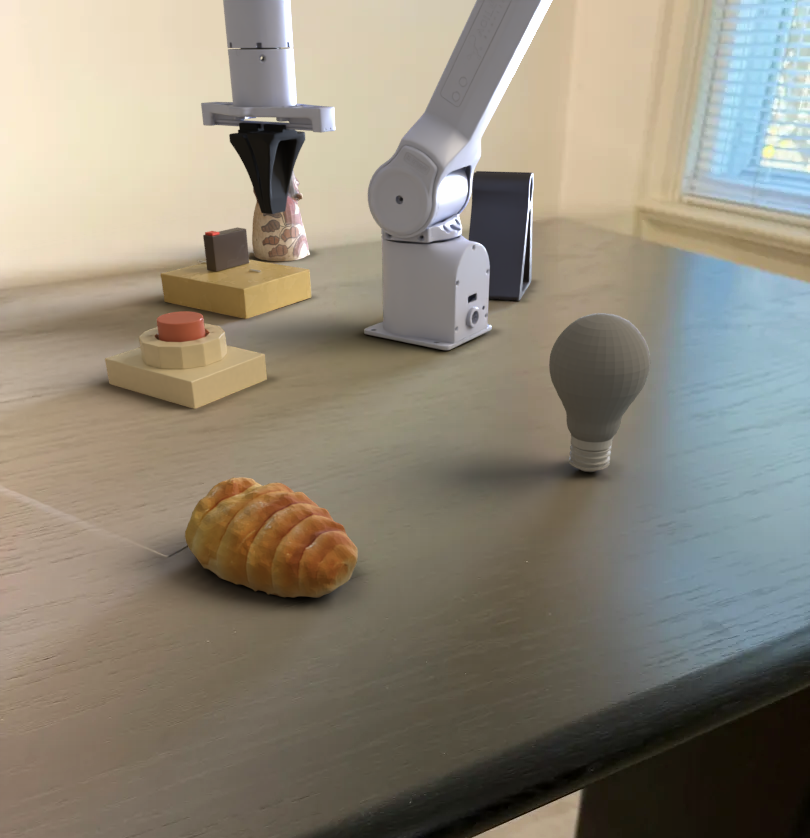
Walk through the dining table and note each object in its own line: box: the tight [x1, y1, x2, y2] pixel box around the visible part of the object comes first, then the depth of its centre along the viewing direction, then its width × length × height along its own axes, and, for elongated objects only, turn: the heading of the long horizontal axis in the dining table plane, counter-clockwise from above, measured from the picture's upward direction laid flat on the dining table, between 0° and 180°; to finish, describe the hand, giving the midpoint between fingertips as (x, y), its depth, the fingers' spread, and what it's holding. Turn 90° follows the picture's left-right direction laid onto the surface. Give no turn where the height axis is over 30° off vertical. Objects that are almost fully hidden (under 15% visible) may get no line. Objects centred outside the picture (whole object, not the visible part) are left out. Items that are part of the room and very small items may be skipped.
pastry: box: [184, 476, 359, 598], centre depth 46 cm, size 9×7×4 cm
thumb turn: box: [202, 227, 250, 272], centre depth 94 cm, size 5×1×4 cm, turn 145°
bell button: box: [155, 310, 206, 342], centre depth 70 cm, size 4×4×2 cm
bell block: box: [104, 322, 268, 410], centre depth 71 cm, size 10×8×4 cm
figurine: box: [251, 170, 311, 262], centre depth 111 cm, size 7×7×12 cm
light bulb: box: [548, 312, 652, 473], centre depth 55 cm, size 6×6×10 cm
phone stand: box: [468, 170, 535, 302], centre depth 95 cm, size 9×6×12 cm, turn 164°
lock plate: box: [160, 259, 312, 320], centre depth 94 cm, size 13×10×3 cm
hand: (273, 212), depth 84 cm, fingers closed
